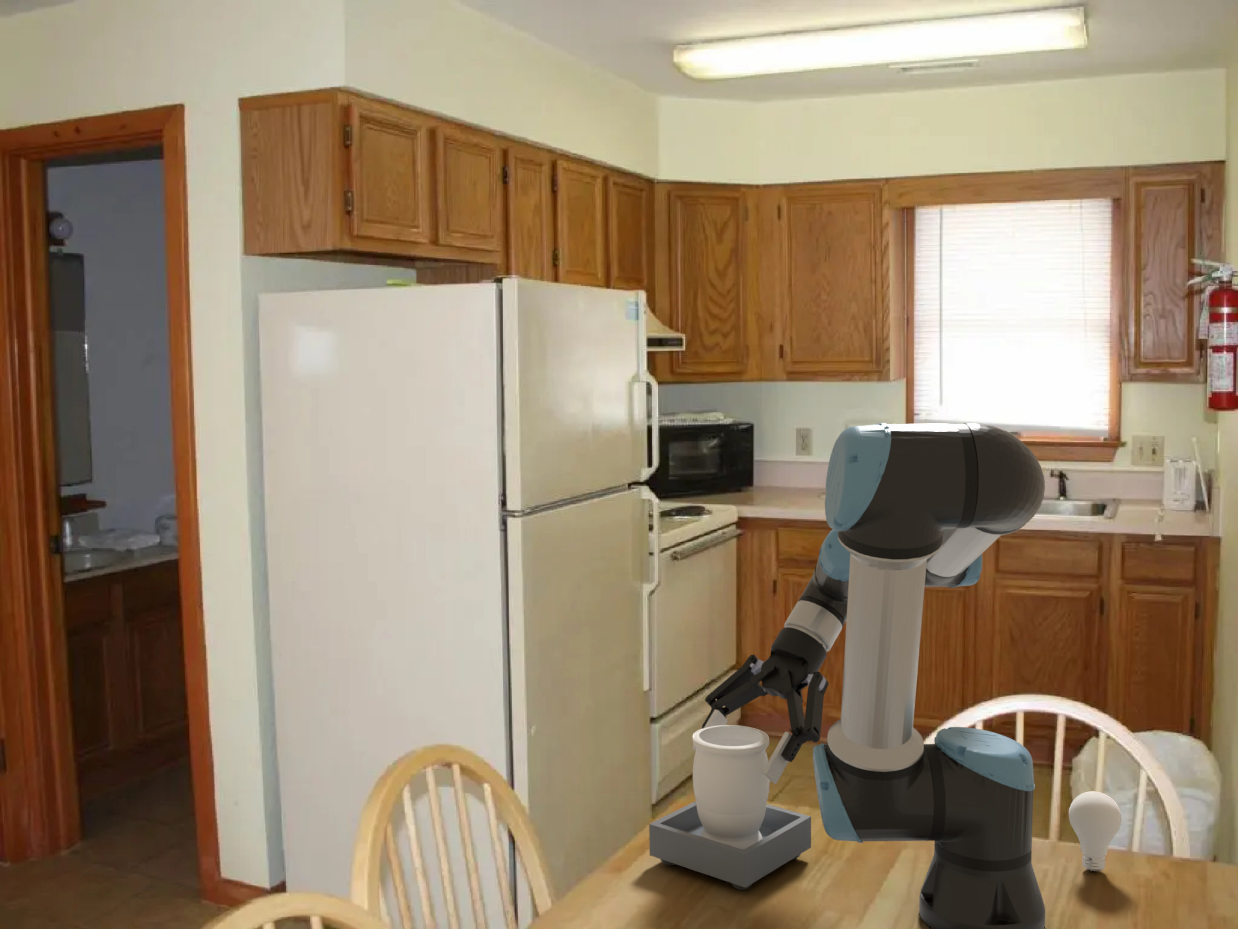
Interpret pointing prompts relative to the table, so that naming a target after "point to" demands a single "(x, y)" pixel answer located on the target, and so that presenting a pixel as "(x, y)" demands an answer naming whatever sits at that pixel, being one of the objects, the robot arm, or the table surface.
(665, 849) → the footed square tray
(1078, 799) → the light bulb
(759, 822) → the jar
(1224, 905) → the table surface
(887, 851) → the table surface
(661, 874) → the table surface
